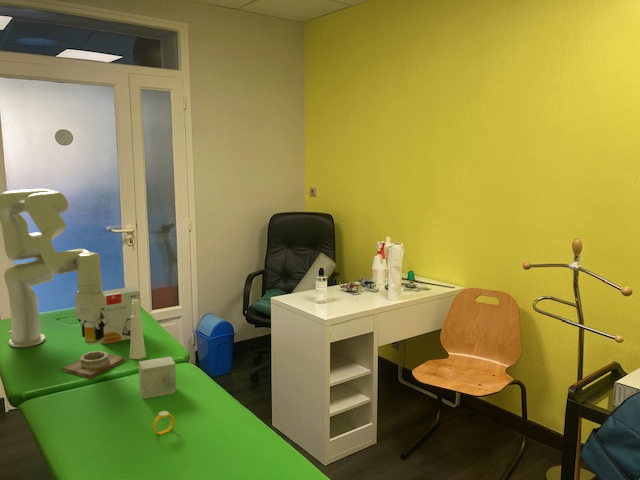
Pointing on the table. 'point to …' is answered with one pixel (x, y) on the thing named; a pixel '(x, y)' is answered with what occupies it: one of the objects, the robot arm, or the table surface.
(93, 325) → the supplement bottle
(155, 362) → the skincare box
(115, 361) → the walnut board
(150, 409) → the table surface
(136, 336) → the cosmetic bottle
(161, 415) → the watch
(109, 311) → the hard drive box
